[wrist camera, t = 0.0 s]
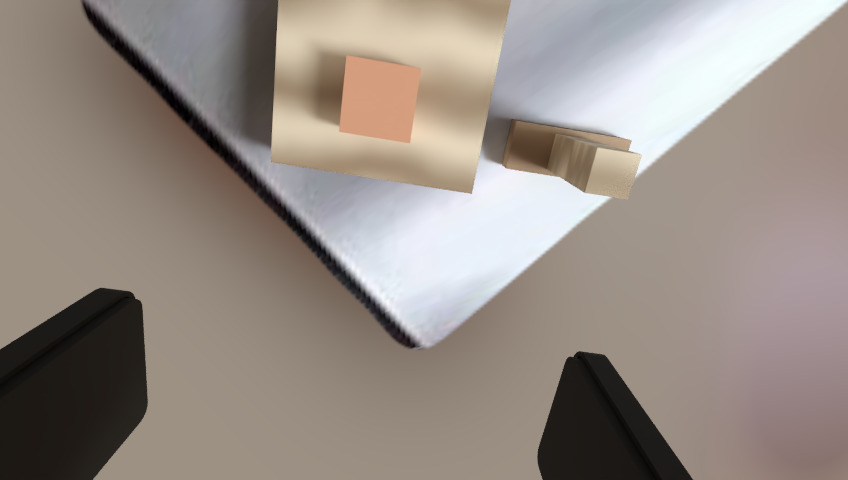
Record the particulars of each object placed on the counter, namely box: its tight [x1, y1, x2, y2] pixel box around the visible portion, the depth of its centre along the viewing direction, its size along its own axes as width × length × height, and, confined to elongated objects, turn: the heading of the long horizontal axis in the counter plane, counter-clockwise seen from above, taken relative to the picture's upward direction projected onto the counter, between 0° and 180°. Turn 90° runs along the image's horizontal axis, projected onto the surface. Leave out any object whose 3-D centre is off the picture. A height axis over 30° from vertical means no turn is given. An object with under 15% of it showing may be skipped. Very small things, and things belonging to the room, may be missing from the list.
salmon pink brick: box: [339, 55, 421, 143], centre depth 31 cm, size 5×5×3 cm
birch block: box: [271, 0, 511, 194], centre depth 35 cm, size 14×16×5 cm
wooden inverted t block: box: [502, 119, 642, 199], centre depth 34 cm, size 4×10×11 cm, turn 81°
